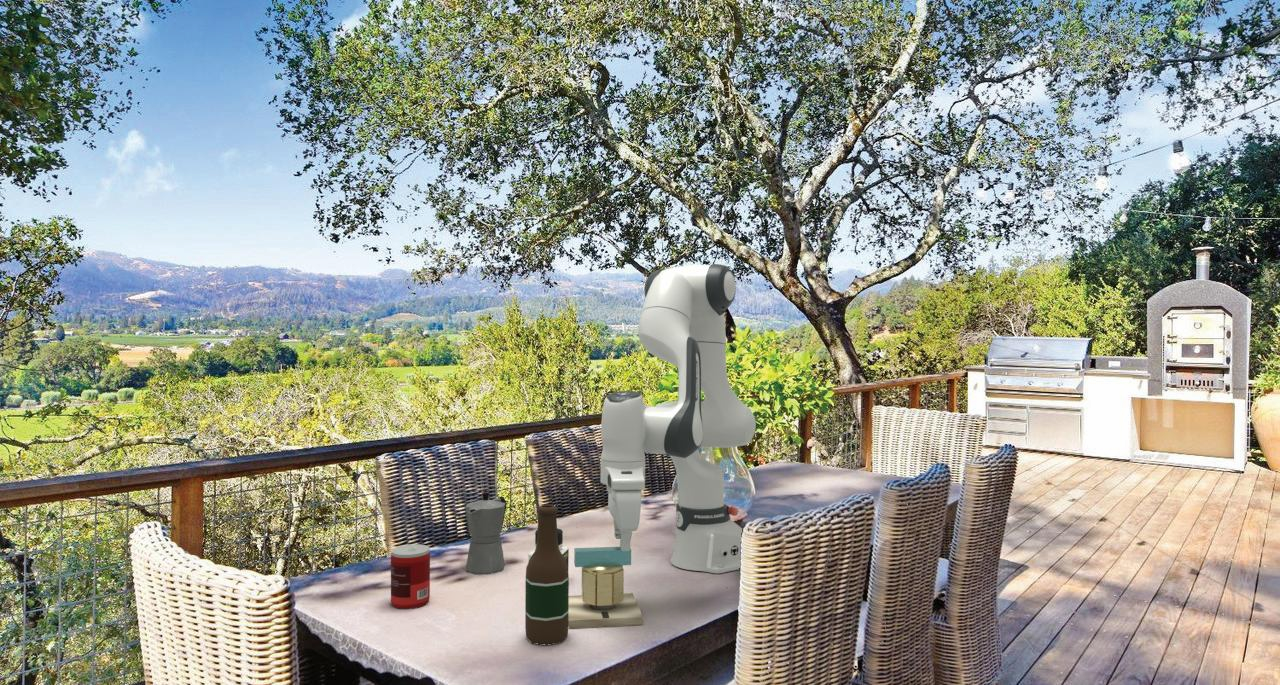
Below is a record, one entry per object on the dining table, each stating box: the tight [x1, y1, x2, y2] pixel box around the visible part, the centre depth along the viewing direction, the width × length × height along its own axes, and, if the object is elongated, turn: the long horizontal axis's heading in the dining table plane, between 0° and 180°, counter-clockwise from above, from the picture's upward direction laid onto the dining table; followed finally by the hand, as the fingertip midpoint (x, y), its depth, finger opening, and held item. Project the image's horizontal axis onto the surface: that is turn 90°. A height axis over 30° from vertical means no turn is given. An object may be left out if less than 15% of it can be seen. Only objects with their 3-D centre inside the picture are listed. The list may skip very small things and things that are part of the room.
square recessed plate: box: [568, 592, 644, 629], centre depth 156 cm, size 14×14×6 cm
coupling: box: [573, 546, 632, 606], centre depth 156 cm, size 8×11×10 cm
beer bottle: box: [524, 504, 570, 646], centre depth 144 cm, size 8×8×24 cm
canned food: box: [390, 543, 431, 610], centre depth 162 cm, size 8×8×11 cm
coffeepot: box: [465, 491, 507, 575], centre depth 187 cm, size 15×9×18 cm, turn 159°
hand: (622, 544), depth 157 cm, fingers open, 8 cm apart
